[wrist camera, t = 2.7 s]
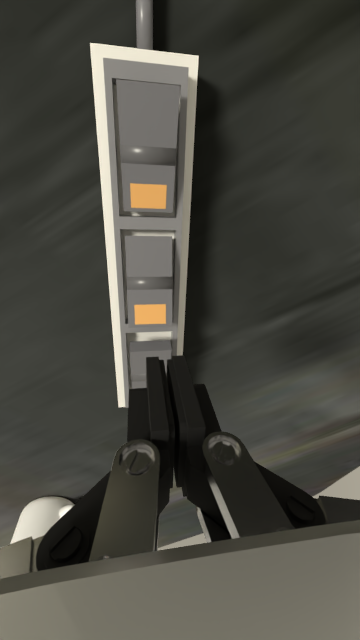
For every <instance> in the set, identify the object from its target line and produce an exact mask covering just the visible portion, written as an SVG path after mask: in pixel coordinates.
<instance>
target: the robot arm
mask: <svg viewBox="0 0 360 640" xmlns="http://www.w3.org/2000/svg"><path fill="white" fill-rule="evenodd" d="M173 467H174V472H175V480H176V486H177V487H182V491H183V497H185V496H187V499H188V500H189V501H191V502H192V503H193V504H195V505H196V510H197V515H198V518H199V521H200V524H201V527H202V530H203V533H204V535H205V538H206V541H207V543H203V544H197V545H191V546H184V547H178V548H172V549H166V550H159V551H157V548H158V532H159V514H160V513H161V512H162V510H163V509H164V508H165V506H166V505H167V504H168V502H169V493H170V488H173ZM0 640H360V500H353V499H343V498H336V497H327V496H319V498H318V499H315V498H313V497H312V496H310V495H309V494H307V493H306V492H305V491H303V490H301V489H300V488H298V487H296V486H295V485H293V484H291V483H289V482H288V481H286V480H284V479H283V478H281V477H279V476H278V475H276V474H274V473H273V472H271V471H269V470H268V469H266V468H264V467H262V466H261V465H259V464H257V463H256V462H254V461H253V459H252V458H251V456H250V454H249V453H248V451H247V449H246V448H245V446H244V444H243V443H242V442H241V441H240V439H238V438H237V437H236V436H234V435H232V434H230V433H227V432H221V429H220V426H219V423H218V420H217V417H216V415H215V412H214V409H213V406H212V403H211V401H210V398H209V395H208V392H207V389H206V387H205V385H204V384H195V385H193V382H192V379H191V376H190V372H189V369H188V365H187V362H186V359H185V356H184V355H179V356H172V358H171V359H167V377H166V371H165V365H164V360H159V357H146V388H135V389H129V401H128V436H127V443H125V444H124V445H122V446H121V447H120V448H119V449H118V451H117V452H116V454H115V457H114V460H113V464H112V468H111V471H110V472H109V473H108V474H107V475H106V476H105V477H104V478H102V479H101V480H100V481H99V482H98V483H97V484H96V485H95V486H94V487H93V488H92V489H91V490H90V491H89V492H88V493H87V494H86V495H85V496H83V497H82V498H81V499H80V500H79V501H78V502H77V503H76V504H75V505H74V506H73V507H72V508H71V509H70V510H69V511H68V512H67V513H66V514H64V515H63V516H62V517H61V518H60V519H59V520H58V521H57V522H56V523H55V524H54V525H53V526H52V527H51V528H50V529H49V530H48V531H47V533H46V534H45V535H43V536H41V537H38V538H36V539H32V536H31V537H28V538H25V539H23V540H20V541H17V542H15V543H12V544H9V545H7V546H4V547H2V548H0Z"/></svg>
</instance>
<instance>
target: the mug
mask: <svg viewBox="0 0 360 640" xmlns="http://www.w3.org/2000/svg"><path fill="white" fill-rule="evenodd" d="M74 505H75V504H73V503H72V502H71V501H69V500H68V499H65V498H62V497H56V496H49V497H42V498H38V499H36V500H34V501H32V502H30V503H29V504H28V505H27V506H26V507H25V508H24V510H23V511H22V513H21V515H20V518H19V521H18V524H17V527H16V529H15V532H14V535H13V538H12V541H11V544H12V543H15V542H17V541H20V540H23V539H25V538H28V537H31V536H32V539H36V538H38V537H41V536H43V535H45V534H46V533H47V531H48V530H49V529H50V528H51V527H52V526H53V525H54V524H55V523H56V522H57V521H58V520H59V519H60V518H61V517H62V516H63V515H64V514H66V513H67V512H68V511H69V510H70V509H71V508H72V507H73V506H74Z"/></svg>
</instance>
